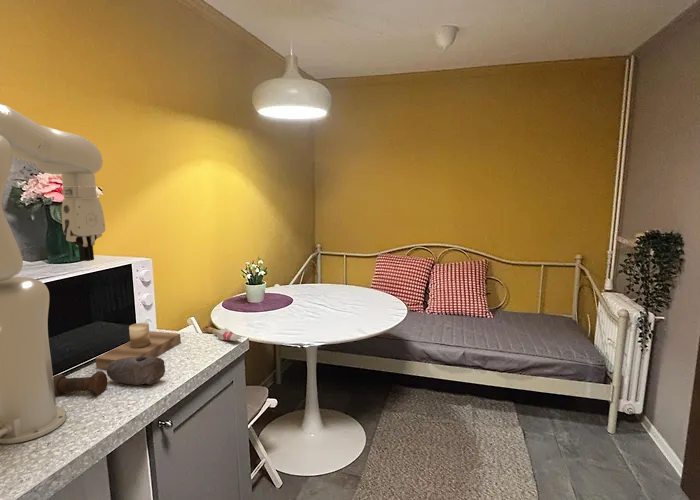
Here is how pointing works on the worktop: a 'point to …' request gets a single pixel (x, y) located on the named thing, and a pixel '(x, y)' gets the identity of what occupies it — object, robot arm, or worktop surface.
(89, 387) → the bolt
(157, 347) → the board
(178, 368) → the worktop surface
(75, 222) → the robot arm
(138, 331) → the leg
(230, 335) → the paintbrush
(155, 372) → the perforated stone tool
